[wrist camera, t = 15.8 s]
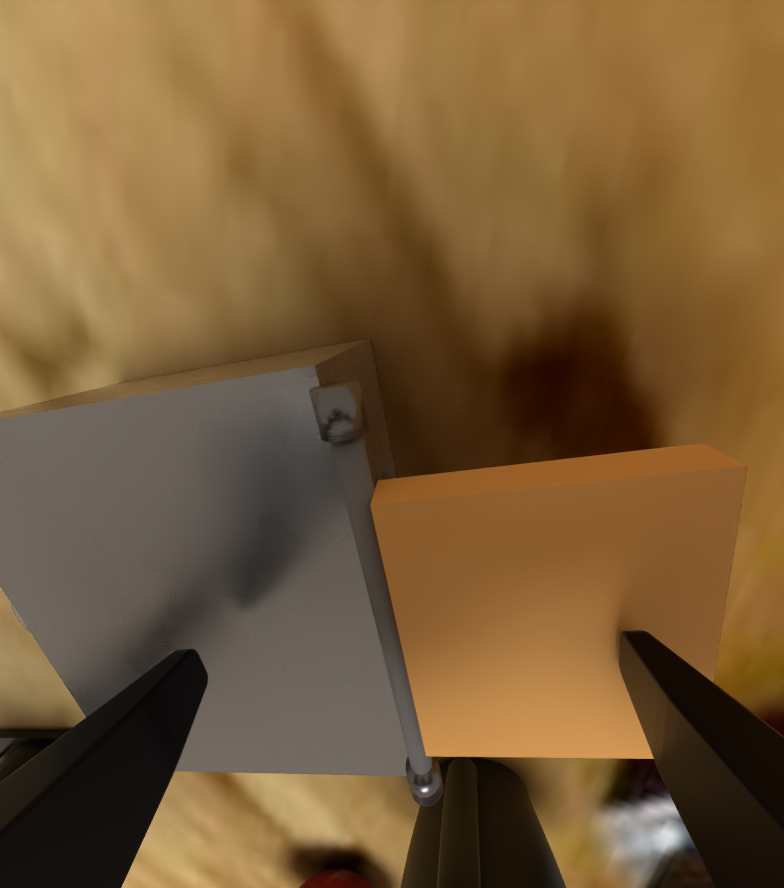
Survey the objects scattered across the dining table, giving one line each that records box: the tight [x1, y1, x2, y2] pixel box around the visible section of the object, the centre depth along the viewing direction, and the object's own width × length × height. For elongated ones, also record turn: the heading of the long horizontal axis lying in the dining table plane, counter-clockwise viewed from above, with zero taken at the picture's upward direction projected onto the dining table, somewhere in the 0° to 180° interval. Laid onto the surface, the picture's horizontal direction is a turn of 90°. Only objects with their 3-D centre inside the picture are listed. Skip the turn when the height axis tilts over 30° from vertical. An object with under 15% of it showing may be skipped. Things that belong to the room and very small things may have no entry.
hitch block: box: [0, 338, 443, 807], centre depth 12 cm, size 11×12×7 cm
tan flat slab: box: [331, 436, 748, 775], centre depth 8 cm, size 1×9×7 cm
